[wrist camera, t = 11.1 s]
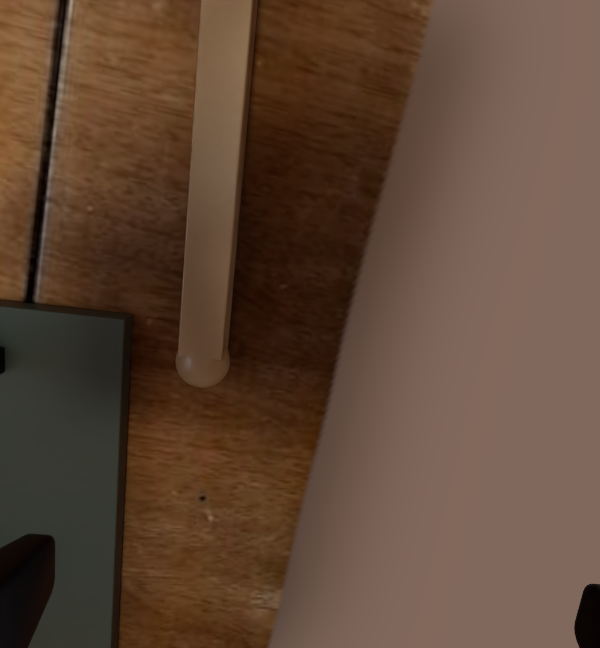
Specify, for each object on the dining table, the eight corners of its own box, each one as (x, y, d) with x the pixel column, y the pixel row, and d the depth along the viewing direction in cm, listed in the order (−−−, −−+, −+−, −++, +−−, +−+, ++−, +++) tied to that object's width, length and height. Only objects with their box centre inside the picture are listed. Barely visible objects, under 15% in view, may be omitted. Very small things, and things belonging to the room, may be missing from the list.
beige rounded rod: (280, -175, 16) (278, -226, 14) (230, 380, 20) (224, 398, 18) (217, -183, 16) (207, -236, 14) (180, 374, 20) (167, 392, 18)
